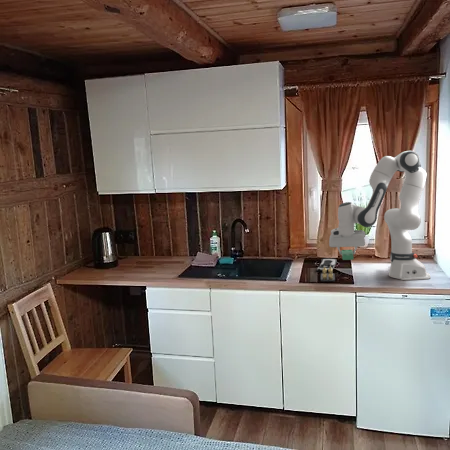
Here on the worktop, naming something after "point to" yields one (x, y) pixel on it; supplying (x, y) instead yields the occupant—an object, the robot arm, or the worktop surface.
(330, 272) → the chassis
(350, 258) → the green board
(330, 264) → the graphics card
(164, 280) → the worktop surface
